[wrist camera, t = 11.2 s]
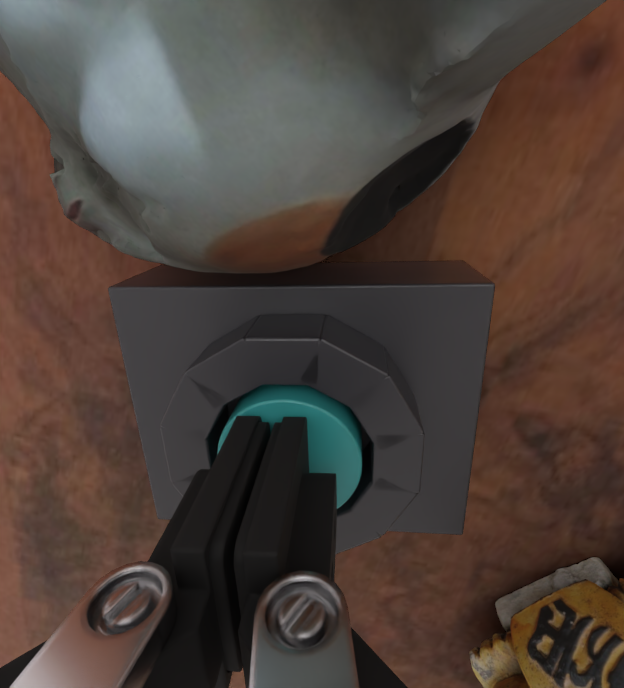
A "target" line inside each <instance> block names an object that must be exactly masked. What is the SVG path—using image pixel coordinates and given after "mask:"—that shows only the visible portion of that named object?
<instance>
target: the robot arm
mask: <svg viewBox="0 0 624 688" xmlns="http://www.w3.org/2000/svg"><path fill="white" fill-rule="evenodd" d="M336 527H337V481H336V473H309V454H308V431H307V418H306V417H283V419H282V422H275V423H274V426H273V429H272V432H271V435H270V425H269V423H268V422H262V419H261V417H260V416H237V417H236V419H235V421H234V423H233V425H232V427H231V429H230V431H229V433H228V435H227V437H226V439H225V441H224V443H223V445H222V447H221V449H220V451H219V453H218V455H217V457H216V459H215V461H214V463H213V465H212V467H211V469H200V470H198V471H197V473H196V474H195V476H194V477H193V479H192V481H191V483H190V485H189V487H188V489H187V490H186V492H185V494H184V496H183V498H182V500H181V501H180V503H179V505H178V507H177V509H176V511H175V513H174V514H173V516H172V518H171V520H170V522H169V524H168V525H167V527H166V529H165V531H164V533H163V535H162V537H161V538H160V540H159V542H158V544H157V546H156V548H155V549H154V551H153V553H152V555H151V557H150V559H149V561H148V562H142V561H139V562H135V563H130V564H126V565H123V566H121V567H119V568H116V569H114V570H112V571H111V572H109V573H108V574H106V575H105V576H103V577H102V578H100V579H99V580H98V581H97V582H96V583H95V584H94V585H93V586H92V587H91V588H90V589H89V590H88V591H87V592H86V594H85V595H84V596H83V597H82V599H81V600H80V601H79V602H78V604H77V605H76V606H75V607H74V608H73V610H72V611H71V612H70V613H69V615H68V616H67V617H66V618H65V620H64V621H63V622H62V623H61V624H60V626H59V627H58V628H57V629H56V631H55V632H54V633H53V634H52V636H51V637H50V638H49V639H48V640H47V641H45V642H43V643H42V644H40V645H38V646H37V647H35V648H33V649H32V650H30V651H28V652H27V653H25V654H23V655H21V656H20V657H18V658H16V659H15V660H13V661H11V662H10V663H8V664H6V665H4V666H3V667H1V668H0V688H229V684H230V680H231V676H232V671H235V672H240V671H241V670H242V668H243V670H244V677H245V684H246V688H407V687H406V685H405V684H404V683H403V682H402V681H401V680H400V679H399V678H398V677H397V676H396V675H395V674H394V673H393V672H392V670H391V669H390V668H389V667H388V666H387V665H386V664H385V663H384V662H383V661H382V660H381V659H380V658H379V657H378V656H377V654H376V653H375V652H374V651H373V650H372V649H371V648H370V647H369V646H368V645H367V644H366V643H365V642H364V641H363V640H362V638H361V637H360V636H359V635H358V634H357V633H356V632H355V631H354V630H353V629H352V628H351V626H350V619H349V612H348V607H347V603H346V600H345V597H344V594H343V593H342V591H341V590H340V588H339V587H338V586H337V584H336V583H335V582H334V573H335V552H336Z"/></svg>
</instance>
